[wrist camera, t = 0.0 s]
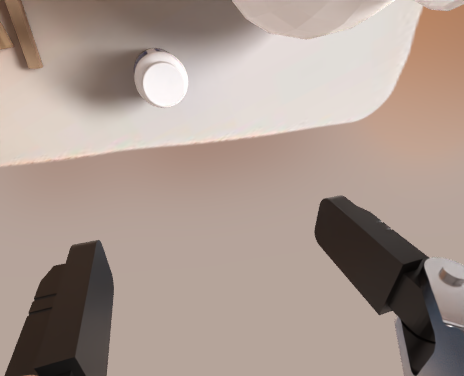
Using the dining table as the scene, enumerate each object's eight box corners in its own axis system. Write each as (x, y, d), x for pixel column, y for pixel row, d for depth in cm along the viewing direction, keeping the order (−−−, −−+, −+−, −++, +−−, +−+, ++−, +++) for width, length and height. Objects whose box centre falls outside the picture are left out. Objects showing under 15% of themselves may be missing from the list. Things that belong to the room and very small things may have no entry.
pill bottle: (145, 100, 34) (148, 122, 26) (126, 55, 31) (122, 64, 23) (185, 87, 34) (200, 105, 26) (170, 42, 31) (182, 46, 23)
